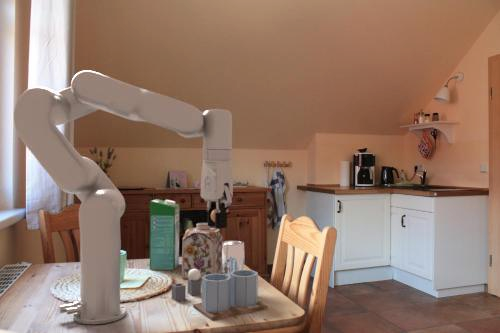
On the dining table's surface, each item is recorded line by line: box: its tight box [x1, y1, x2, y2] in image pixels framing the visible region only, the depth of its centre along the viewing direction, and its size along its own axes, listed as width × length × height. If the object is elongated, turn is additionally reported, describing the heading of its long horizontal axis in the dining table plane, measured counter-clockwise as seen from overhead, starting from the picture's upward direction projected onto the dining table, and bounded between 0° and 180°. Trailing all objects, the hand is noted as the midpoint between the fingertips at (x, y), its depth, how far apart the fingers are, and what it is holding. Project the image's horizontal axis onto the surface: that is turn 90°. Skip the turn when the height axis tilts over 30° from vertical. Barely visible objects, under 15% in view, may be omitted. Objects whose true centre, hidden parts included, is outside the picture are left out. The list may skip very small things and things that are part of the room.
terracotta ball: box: [211, 209, 217, 222], centre depth 111 cm, size 4×4×4 cm
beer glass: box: [221, 240, 245, 276], centre depth 127 cm, size 7×7×15 cm
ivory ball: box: [188, 269, 200, 281], centre depth 125 cm, size 4×4×4 cm
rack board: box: [192, 300, 268, 321], centre depth 113 cm, size 17×11×1 cm, turn 122°
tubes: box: [201, 269, 259, 313], centre depth 113 cm, size 16×7×8 cm, turn 122°
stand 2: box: [186, 279, 202, 296], centre depth 125 cm, size 3×3×4 cm
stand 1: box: [171, 282, 187, 302], centre depth 120 cm, size 3×3×4 cm
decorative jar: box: [181, 222, 224, 281], centre depth 146 cm, size 12×12×18 cm
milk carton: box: [149, 198, 180, 271], centre depth 157 cm, size 9×9×25 cm
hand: (217, 226), depth 111 cm, fingers closed on terracotta ball, 3 cm apart
